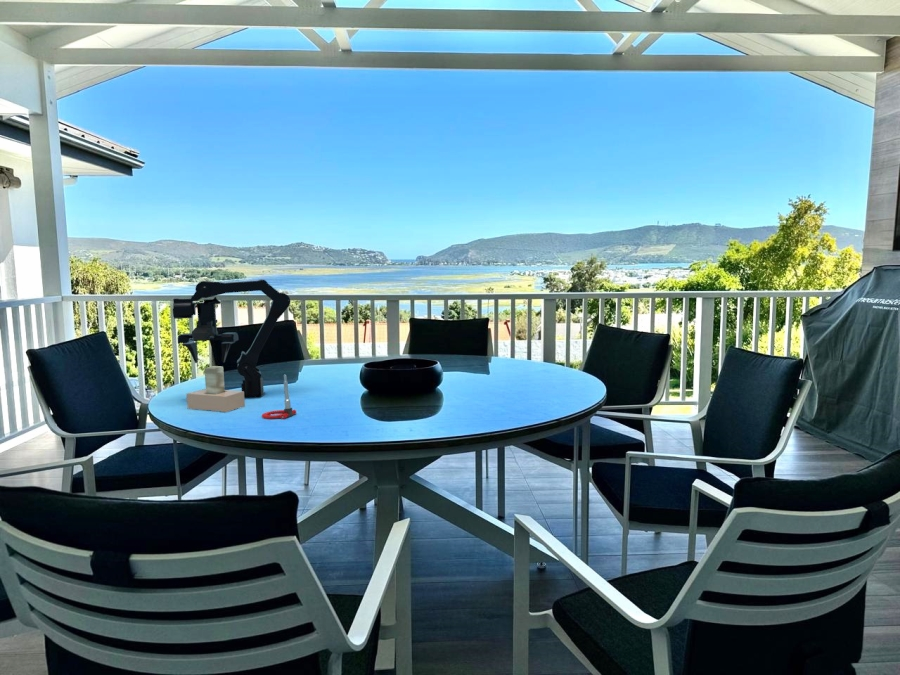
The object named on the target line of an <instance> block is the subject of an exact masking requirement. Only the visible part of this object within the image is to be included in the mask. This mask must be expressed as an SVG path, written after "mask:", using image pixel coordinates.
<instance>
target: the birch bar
mask: <svg viewBox="0 0 900 675" xmlns="http://www.w3.org/2000/svg"><path fill="white" fill-rule="evenodd" d="M224 375H225V373H224V366H218V365H213V366H209V367H204V382H205V384H204V385H205V389H206V394H215V395H216V394H220V393H223V392H225V390H226V389H225V388H226V387H225V376H224Z"/></svg>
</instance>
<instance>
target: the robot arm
mask: <svg viewBox="0 0 900 675" xmlns="http://www.w3.org/2000/svg"><path fill="white" fill-rule="evenodd" d="M255 291H256V292H261V293H262V294H264V295H265V296H267V297H268V298H269V299H271V303H270V306H269V310H268V314H267V315H266V318H265V320H264V321H263V323H262V325H261V326H260V329H259V331H258V332H257V334H256V336H255V338H254V340H253V342H252V344H251V346H250V347H249V349H248V350H247V351H246V352H245V351H243V350H242V351H241V353H240V354H241V355H240V357H239V358H238V359H237V361H236V364H237V372H238V374H239V375H240V376H242V377H243V379H242V383H241V385H240V386H241V391H244V399H246V398H261V397H263V396H264V395H266V392H265V391H264V378H263V377H262V373H261V372H262V371H261V370H260V369H259V368H258V367H257V364H258V360H259V356H260V354H261V351H262V350H263V348H264V346H265V344H266V343H267V341H268V339H269V337H270V335H271V332H272V331H273V329H274V328H275V326H276V323H277V322H278V320H279V319H280V317H281V316H283V314H284V313H285V311H286V310H287V309H288V308H289V306H290V305H291V299H290V296H289V295H288V294H287V293H284V292H279V291H278V289H276V288H275V287H273V286H272V285H271V284H270V283H268V281H267V280H265V279H258V280H245V281H244V280H243V281H231V282H230V281H229V282H225V281H224V282H221V281H214V280H213V281H212V280H202V281H199V282H198V283H197V284H196V285H195V292H194V293H193V295H191V298H173V303H172V304H173V305H172V307H173V308H172V317H173V319H174V320H175V319H178V320H179V319H181V320H182V319H193V316H196V314H197V321H196V327H194V328H193V329H192V331H191V332H190V333H182V334H181V333H180V334H179V335H178V337H177V344H181V345H182V346H184V347H186V348H187V350H188V351H189V352H190V355H191V357H192V359H193V361H194V363H195V364H198V361H199V360H198V358H199V354H198V342H207V341H222V342H221V343H220V346H221V363H225V362H226V359H227V356H228V353H229V350H230V349H231V346H232V344H235V343H236V342H238V341H239V334H238V332H236V331H235V332H223V333H221V334H219V331H218V327H217V326H218V325H217V323H218V319H217V313H216V312H217V311H216V305H221V301H220V300H219V299H218V298H217V297H216V296H220V295H224V294H231V293H243V292H255ZM211 297H213V298H212V299H211ZM207 298H209V299H207ZM201 299H203V302H198V301H200V300H201ZM196 308H197V309H196ZM196 310H197V312H196Z"/></svg>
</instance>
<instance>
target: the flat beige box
mask: <svg viewBox="0 0 900 675" xmlns="http://www.w3.org/2000/svg"><path fill="white" fill-rule="evenodd" d="M186 405H187V409H188V408H189V410H196V409H200V410H199V411H207V410H211V411H210V412H218V411H221V412H220V413H229V412H231V410H232V411H234V409H235V410H238V409H241V408H244V407H246V402H245V398H244V391H242V390H229V389H225V392H223V393H220V394H216V395H215V394H206V388H203V389H200V390H199V389H198V390H195V391H191V392H188V393H186ZM240 407H241V408H240ZM237 408H238V409H237ZM228 411H229V412H228Z"/></svg>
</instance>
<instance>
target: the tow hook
mask: <svg viewBox="0 0 900 675" xmlns="http://www.w3.org/2000/svg"><path fill="white" fill-rule="evenodd" d="M283 390H284V409H280V410H279V409H277V410H271V411H266V412H264V413H262V415H261V418H262V419H267V420H268V419H269V420H273V419H281V420H285V419H286V418H290V417H292V416H293V415H296V414H297V410H296V409H293V407H292V406H291V400H290V392H289V383H288V378H287V374H283ZM271 414H272V415H271Z"/></svg>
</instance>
